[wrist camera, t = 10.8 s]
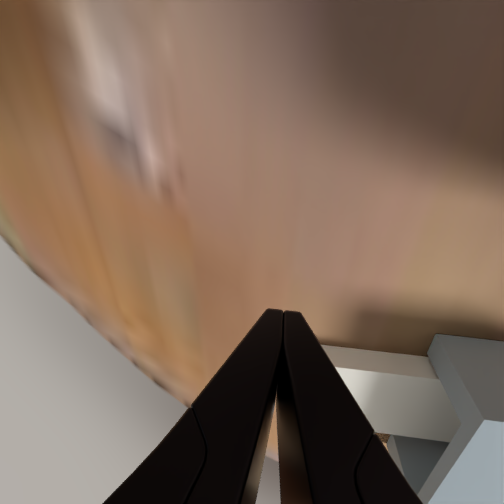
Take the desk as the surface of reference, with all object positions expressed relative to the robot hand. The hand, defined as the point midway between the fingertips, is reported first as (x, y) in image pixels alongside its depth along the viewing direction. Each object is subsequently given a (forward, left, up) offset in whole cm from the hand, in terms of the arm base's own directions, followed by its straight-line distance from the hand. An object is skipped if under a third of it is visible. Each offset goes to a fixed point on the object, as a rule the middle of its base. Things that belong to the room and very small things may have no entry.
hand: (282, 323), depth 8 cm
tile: (-10, +16, -12) cm, 22 cm away
